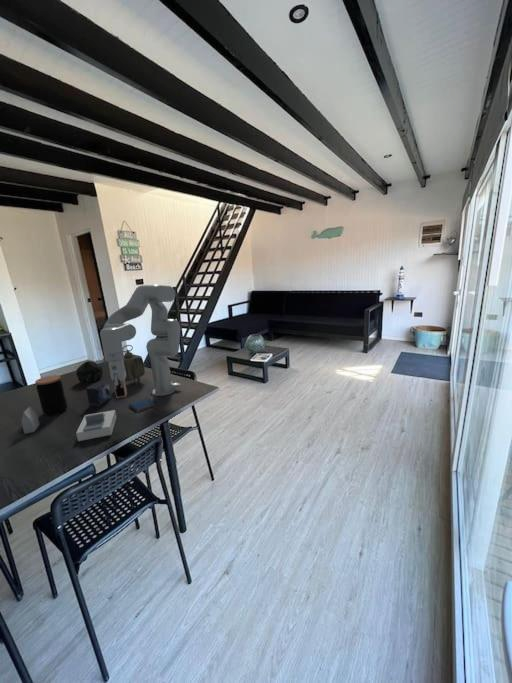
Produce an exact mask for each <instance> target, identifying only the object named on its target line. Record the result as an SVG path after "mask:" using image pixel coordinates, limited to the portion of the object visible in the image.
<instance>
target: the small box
mask: <svg viewBox="0 0 512 683" xmlns="http://www.w3.org/2000/svg"><path fill="white" fill-rule="evenodd" d="M85 389H86V394H87V399H88V404H89V407H94V408H95V407H98V408H100V407H101V406H103V405H105V404H106V403H107V402H108V401H111V400H112V399H113V396H112V391H111V385H110V381H107V380H98V381H96V382H94V383H92V384H91V385H89V386H87V387H86V388H85Z"/></svg>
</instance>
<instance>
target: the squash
mask: <svg viewBox="0 0 512 683" xmlns="http://www.w3.org/2000/svg"><path fill="white" fill-rule="evenodd" d="M103 370H104V369H103V368H102V365H100V364H99V363H97V362H94V361H92V360H91V361H90V360H89V361H84V362H83V363H82V364H81V365H79V366H78V368H76V373H75V374H76V377H77V379H78V381H79V382H80V383H86V384H92V383H97V382H99V381H101V379H102V377H103V373H104V372H103Z"/></svg>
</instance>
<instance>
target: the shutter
mask: <svg viewBox="0 0 512 683" xmlns="http://www.w3.org/2000/svg"><path fill="white" fill-rule="evenodd" d="M97 413H98V414H95V413H92V414H93V415H89V414H86V415H87V416H85V415H84V416H85V418H86V425H85V427H84V430H83V431H84V432H85V431H90V430H96V429H101V428H102V427H103V424H104V421H105V419H104V414H103V413H101V412H97Z"/></svg>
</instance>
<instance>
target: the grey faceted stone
mask: <svg viewBox="0 0 512 683" xmlns="http://www.w3.org/2000/svg"><path fill="white" fill-rule="evenodd" d="M40 425H41V424H40V420H39V417H38V414H37V412H36V411H35V409H33V408H32V407H31V406H28V407H27V408H26V409H25V410H24V411H23V413H22V418H21V426H22V429H23V430H22V431H23V433H24V434H25V435H26V434H30V433H34V432H36V430H37V429H38V428H39V426H40Z"/></svg>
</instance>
